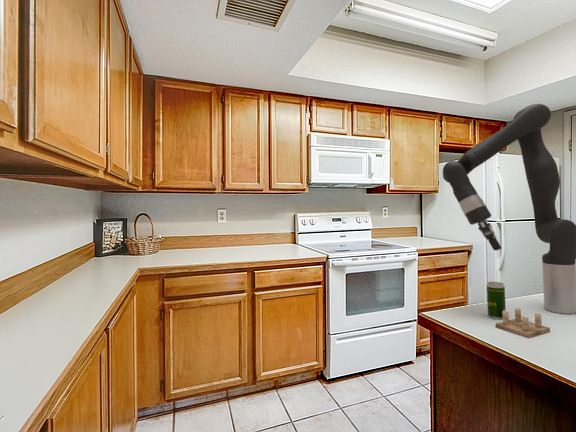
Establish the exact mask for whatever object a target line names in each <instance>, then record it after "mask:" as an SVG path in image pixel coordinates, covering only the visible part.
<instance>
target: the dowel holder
mask: <svg viewBox="0 0 576 432" xmlns="http://www.w3.org/2000/svg"><path fill="white" fill-rule="evenodd" d="M502 313H503V319H502V321H499V322H497V323H495V328H497V329H500V330H503V331H506V332H509V333H512V334H515V335H518V336H522V337H524V338H527V339H531V338H533V337H537V336H538V337H539V336H541V335H544V334H547V333H550V332H551V328H550V327H548V326H544V325H543V324H542V323H543V322H542V314H541V313H534V322H530V321H529V320H530V319H529V317H528V316H522V309H521V308H520V307H519V308H517V307H516V308H514V314H515V315H514V317H515V318H513V319H510V316H509V311H507V310H506V311H503V312H502Z"/></svg>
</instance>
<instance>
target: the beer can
mask: <svg viewBox="0 0 576 432" xmlns="http://www.w3.org/2000/svg"><path fill="white" fill-rule="evenodd" d="M486 283H487V284H486V300H487V301H486V305H487V315H488V317H489V318H491V319H493V320H499V321H500V320H503V313H502V312H503V311H506V312H507V310H506V309H507V308H506V307H507V306H506V289H505V284H504V283H503V282H500V281H499V282H498V281H488V282H486Z"/></svg>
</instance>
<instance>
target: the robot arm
mask: <svg viewBox="0 0 576 432" xmlns="http://www.w3.org/2000/svg"><path fill="white" fill-rule="evenodd" d="M551 118H552V111H551V110H550V108H549V107H548V105H545V104H543V103H535V104H534V103H533V104H529V105H528V106H526V107H524V108H523V109H521V110H519V111H517V112H516V113H515V115H514V116H513V118H512V121H511V122H510V123H508V124H506V126H504V127H502V128H501V129H499V130H498V131H496V132H495V133H493V134H491V135H490V136H489V137H486V138H485V139H483V140H482V141H480V142H478V143H477V144H476V145H474V146H473V147H472V148H470V149H468V150H467V151H465V153H463V155H462V156H461V157H460V158H459V159H457V161H456V160H451V161H447V162H446V163H445V165H444V166H443V168H442V177H443V180H444V181H445V182H446V183H449V185H450V187H451V188H452V193H453V195H454V197H455V198H456V201H457V202H458V204H459V207H460V209H461V211H462V213H463V214H464V217H465V218H466V219H467V222H468V223H469V225H471V226H473V225H476V224H477V226H478V230H479V232H480V233H481V234H482V236H483V238H485V239H486V241H488V243H489V244H490V246H491V248H492V249H493V251H499V250H501V249H502V246H501V244H500V242H499V241H498V239H497V236H496V233H495V231H494V229H493V226H492V225H491V223H490V222H487V221H486V220H488V219H490V218H491V217H492V213H491V211H490V210H489V208H488V207H487V205H486V204H485V202H484V200H483V198H481V196H480V195H479V194H478V192H477V190H476V188H475V187H474V186H473V184H472V183H471V181H470V178H469V174H470V173H471V172H472V171H473V170H474V169H476V168H478V167H479V166H480V165H482V164H484V163H485V162H487V161H488V160H490V159H491V158H492V157H494V156H496V155H497V154H498V153H500V152H501V151H503V150H504V149H505V148H507V147H508V146H509V145H512V143H514V142H516V141H518V144H519V148H520V152H521V157H522V162H523V167H524V171H525V173H524V174H525V177H526V180H527V185H528V188H529V193H530V198H531V204H532V208H533V209H532V210H533V216H534V225H535V226H534V227H535V233H536V236H537V237H538V239H539V240H540V241H541V242H544V243H545V244H549V250H548V252H546V253H544V254H542V255H541V259H542V261H541V262H542V282H543V286H542V287H543V308H544V309H545V310H547V312H548V311H549V312H551V313H552V312H553V313H558V314H564V315H569V314H570V315H573V314H576V223H574V222H573V221H572V220H569V219H564V218H563V219H562V218H559V217H558V214H557V210H556V199H557V196H558V193H559V190H560V186H561V177H560V174H559V173H560V172H559V169H558V165H557V163H556V160H555V158H554V157H553V155H552V154H551V153H550V150H548V149H547V147H546V145H545V142H544V140H543V134H542V128H544V127H545V126H547V124H548V123H549V122H550V120H551Z"/></svg>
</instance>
